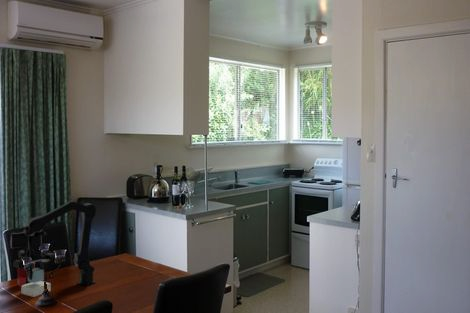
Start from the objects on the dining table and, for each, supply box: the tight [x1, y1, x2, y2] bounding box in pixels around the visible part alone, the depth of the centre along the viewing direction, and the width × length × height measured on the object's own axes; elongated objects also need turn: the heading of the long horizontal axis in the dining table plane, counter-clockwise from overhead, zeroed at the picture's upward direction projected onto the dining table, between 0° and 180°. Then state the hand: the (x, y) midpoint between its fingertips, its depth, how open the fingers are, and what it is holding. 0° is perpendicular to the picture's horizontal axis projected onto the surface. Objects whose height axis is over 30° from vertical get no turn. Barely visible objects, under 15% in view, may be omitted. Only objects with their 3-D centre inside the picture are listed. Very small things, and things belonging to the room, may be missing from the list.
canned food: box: [16, 262, 36, 288], centre depth 225 cm, size 8×8×11 cm
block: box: [28, 267, 45, 283], centre depth 214 cm, size 5×5×5 cm
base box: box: [20, 280, 52, 298], centre depth 215 cm, size 9×9×4 cm
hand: (36, 278), depth 214 cm, fingers closed on block, 5 cm apart
